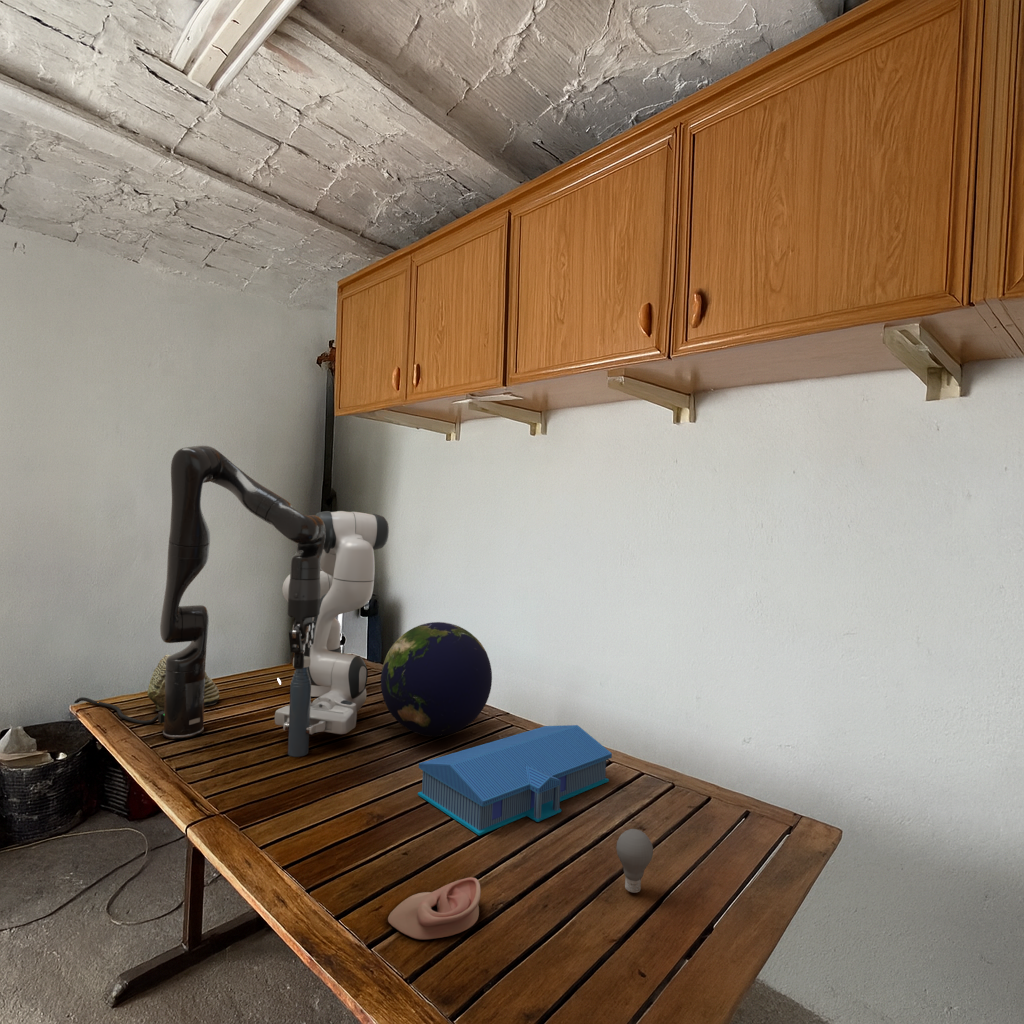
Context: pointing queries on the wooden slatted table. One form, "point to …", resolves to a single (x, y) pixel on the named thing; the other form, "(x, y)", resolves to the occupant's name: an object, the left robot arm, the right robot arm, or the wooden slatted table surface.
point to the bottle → (299, 713)
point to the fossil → (158, 687)
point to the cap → (305, 661)
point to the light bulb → (634, 857)
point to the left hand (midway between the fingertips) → (301, 665)
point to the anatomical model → (439, 911)
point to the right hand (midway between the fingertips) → (297, 729)
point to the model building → (514, 777)
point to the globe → (436, 679)
